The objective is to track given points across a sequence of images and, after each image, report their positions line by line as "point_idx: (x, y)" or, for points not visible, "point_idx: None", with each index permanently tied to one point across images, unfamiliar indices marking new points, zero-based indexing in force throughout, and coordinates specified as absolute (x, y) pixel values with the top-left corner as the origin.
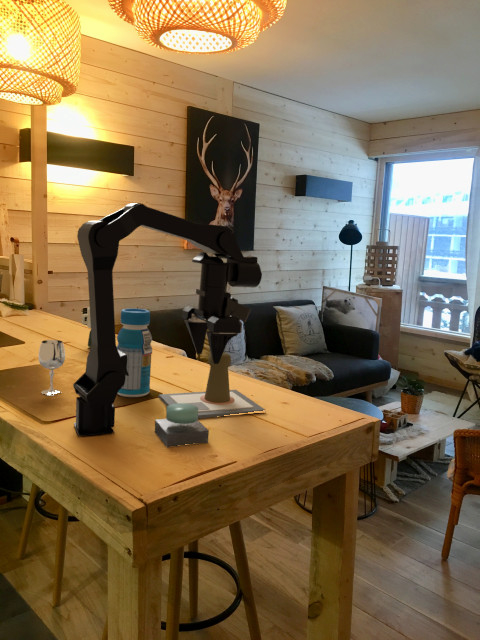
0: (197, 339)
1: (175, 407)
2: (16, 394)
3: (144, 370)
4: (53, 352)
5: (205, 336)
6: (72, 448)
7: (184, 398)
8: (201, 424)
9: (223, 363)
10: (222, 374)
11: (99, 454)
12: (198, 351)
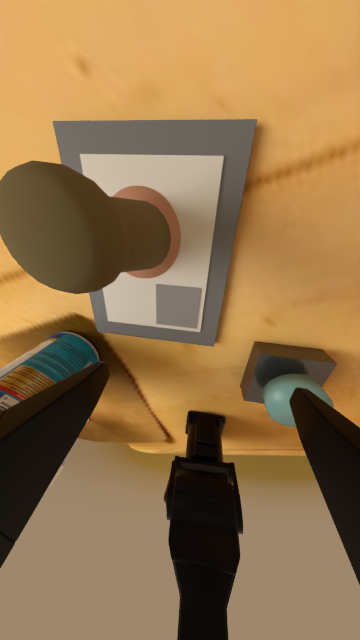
0: (57, 447)
1: (287, 415)
2: (86, 435)
3: (63, 378)
4: (51, 482)
5: (10, 434)
6: (242, 446)
7: (126, 304)
8: (304, 361)
9: (124, 244)
10: (137, 240)
11: (269, 438)
12: (102, 381)
